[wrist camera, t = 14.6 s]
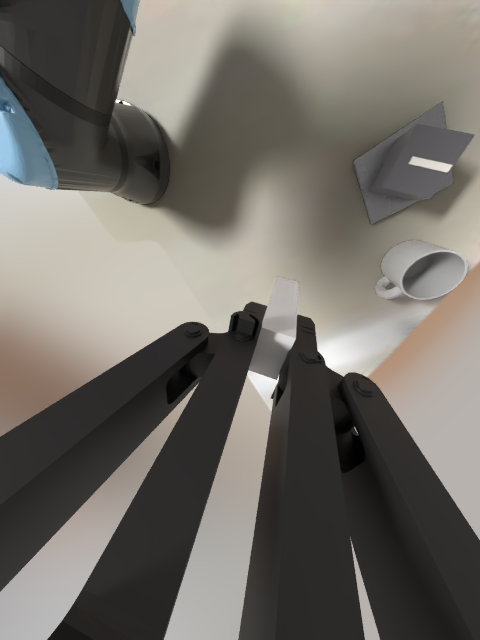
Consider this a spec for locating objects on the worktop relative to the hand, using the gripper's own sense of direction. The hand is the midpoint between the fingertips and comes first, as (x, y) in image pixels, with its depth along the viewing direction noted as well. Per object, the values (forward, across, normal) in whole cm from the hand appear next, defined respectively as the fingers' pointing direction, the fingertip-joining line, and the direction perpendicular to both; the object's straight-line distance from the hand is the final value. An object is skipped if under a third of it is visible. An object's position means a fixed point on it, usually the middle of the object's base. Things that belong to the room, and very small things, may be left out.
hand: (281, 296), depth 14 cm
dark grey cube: (+27, +12, +12) cm, 32 cm away
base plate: (+28, +12, +12) cm, 33 cm away
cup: (+28, +19, -1) cm, 34 cm away
